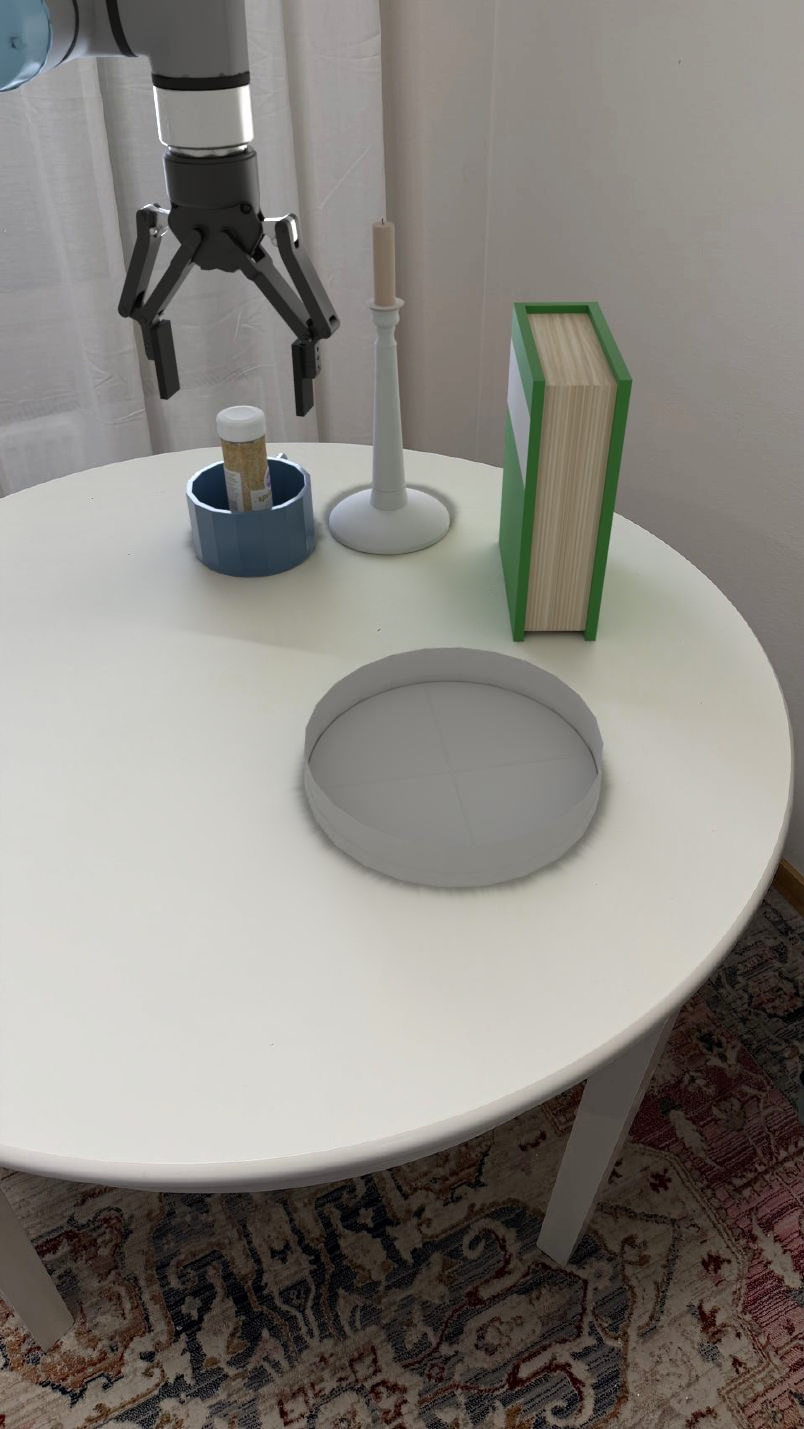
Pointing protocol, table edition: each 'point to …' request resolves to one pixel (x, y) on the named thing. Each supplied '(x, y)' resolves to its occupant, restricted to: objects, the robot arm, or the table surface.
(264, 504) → the sprinkles bottle
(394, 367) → the candlestick
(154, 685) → the table surface
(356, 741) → the dish
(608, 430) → the hardback book
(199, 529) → the blue pot
